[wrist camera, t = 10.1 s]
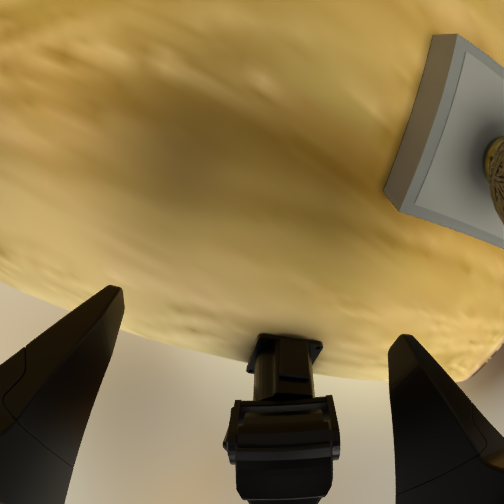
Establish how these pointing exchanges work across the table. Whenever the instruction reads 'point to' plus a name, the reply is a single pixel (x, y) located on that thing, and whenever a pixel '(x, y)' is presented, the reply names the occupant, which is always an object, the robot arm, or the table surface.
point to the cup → (495, 172)
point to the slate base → (451, 141)
